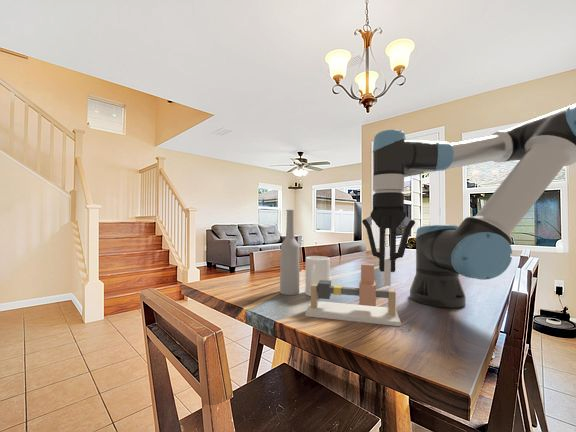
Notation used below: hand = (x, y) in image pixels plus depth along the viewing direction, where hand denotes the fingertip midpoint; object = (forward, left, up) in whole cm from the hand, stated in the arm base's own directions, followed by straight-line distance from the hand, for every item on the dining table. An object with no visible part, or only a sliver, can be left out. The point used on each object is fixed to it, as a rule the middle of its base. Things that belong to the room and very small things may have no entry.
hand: (386, 284), depth 69 cm
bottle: (+30, -15, -9) cm, 34 cm away
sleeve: (+5, 0, -5) cm, 7 cm away
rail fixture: (+9, 0, -9) cm, 12 cm away
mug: (+21, -15, -9) cm, 27 cm away
